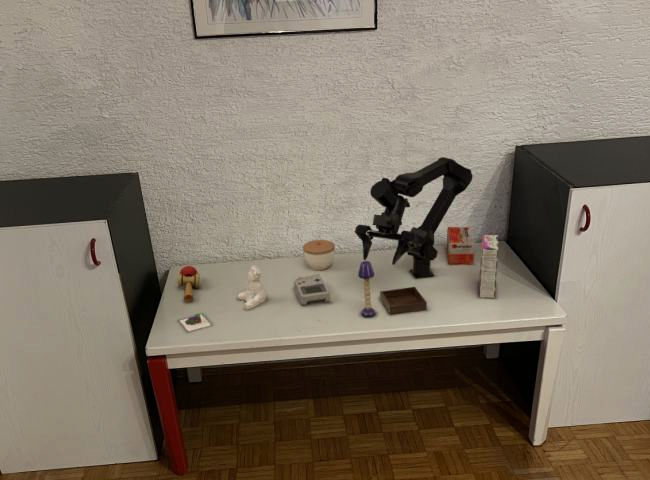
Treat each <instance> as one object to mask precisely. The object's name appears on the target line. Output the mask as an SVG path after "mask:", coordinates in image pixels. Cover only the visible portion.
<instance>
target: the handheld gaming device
mask: <svg viewBox="0 0 650 480" xmlns="http://www.w3.org/2000/svg"><path fill="white" fill-rule="evenodd" d="M293 288H294V290H295V292H296V295H297V298H298V299H299V302H300V304H301V305H302V306H306V305H307V304H308V303H311V302H317V301H325V302H326V303H328V302H330V301H331V292H330V290H329V289H328V287H327V285H326V283H325V281H324V280H323V278H322V275H320V273H317V274H311V275H305V276H300V277H298V278H296V279H294V281H293Z"/></svg>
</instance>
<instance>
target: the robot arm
mask: <svg viewBox="0 0 650 480" xmlns="http://www.w3.org/2000/svg"><path fill="white" fill-rule="evenodd" d="M442 176H443V178H442V188H441V190H440V192H439V194H438V195H437V198H436V199H435V201H434V202H433V204H432V206H431V207H430V209H429V211H428V213H427V214H426V216H425V218H424V219H423V221H422V223H421V225H420V226H418V227H416V226H413V227H411V229H410V230H402V231H401V233H399V230H400V226H402V225H403V221H402V220H403V217H404V213H405V211H406V208H410V207H411V203H410V202H409V199H408V198H406V197H409V198H414V197H416V196H417V195H419V194H420V193H421V192H422V191H423V189H424V187H425V186H426V185H428V184H430V183H432V182H433V181H436V180H437V179H438V178H441V177H442ZM473 177H474V176H473V173H472V170H471V169H470V168H467V167H466V166H464V165H462V164H459V163H458V162H456V160H454V159H453V158H451V157H445V156H442V157H438V159H437V160H436V161H435V160H434V161H433V162H431V163H430V164H428V165H426V166H424V167H423V168H420V169H419V170H416V171H413V172H405V173H401V174H398V175H397V176H396V177H395V179H393V180H390V179H389V178H388V177H387V178H386V177H382V178H381V180H378V181H377V182H375V183H374V184H373V185H372V186H371V189H370V192H369V193H370V196H371V198H372V199H374V200H375V201H376V202H377V203H378V204H379V205H380V206H382V207H383V208H384V211H382V212H381V213H380V214H375V213H374V215H373V219H372V226H375V229H377V230H374V229H373V228H371V226H370V225H367V224H361V223H360V224H359V223H358V225H357V226H355V229H354V233H355V235H356V236H357V237H358V238H359V240H361V244H362V259H363V261H367V258H368V256H369V254H370V251H371V248H372V245H373V242H372V240H373V239H374V238H378V239H385V240H390V241H391V240H393V241H397V248H396V249H395V252H394V254H393V258H392V260H391V261H392V262H391V265H392V266H395V265H396V264H397V262H399V260H400V259H401V258H402V257H403V256H404V255H405V254H406V253H407V256H410V257H412V268H410V269H409V270H408V271H409V273H410V274H411V275H412V277H413V278H414V279H421V278H423V279H424V278H429V277H434V276H435V274H434V272H433V271H432V270H431V265H432V264H431V263H432V261H433V262H434V261H435V259H436V258H437V256H438V254H439V253H438V252H439V251H438V250H437V248H435V247H434V245H435V233H436V231H437V230H438V228H439V226H440V225H441V223H442V221H443V219H444V217H445V216H446V214H447V212H448V210H449V209H450V208H451V206H452V204H453V203H454V201H455V199H456V197H457V196H458V195H460V194H461V193H463V192H464V191H466V189H467V188H468V187H469V185H470V184H471V183H472V181H473ZM404 196H406V197H404Z"/></svg>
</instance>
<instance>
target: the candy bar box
mask: <svg viewBox="0 0 650 480" xmlns="http://www.w3.org/2000/svg"><path fill="white" fill-rule="evenodd" d="M479 259H480V260H479V278H478V297H479V298H480V299H495V298H496V288H497V274H498V263H499V262H498V261H499V235H498V234H482V236H481V244H480V258H479Z"/></svg>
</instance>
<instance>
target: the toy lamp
mask: <svg viewBox="0 0 650 480" xmlns="http://www.w3.org/2000/svg"><path fill="white" fill-rule="evenodd" d="M357 276H358V277H359V278H360V279H363V291H364V292H363V294H364V304H365V305H364V308H363V309H362V310H361V316H362V317H364V318H373V317H375V316H376V311H375V309H374V308H373V307H372V304H371V303H372V300H371V298H372V297H371V286H370V285H371V282H370V279H371V278H373V277H375V271H374V268H373V265H372V262H370V261H369V260H363V261H361V262H360V264H359V268H358V272H357Z"/></svg>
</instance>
